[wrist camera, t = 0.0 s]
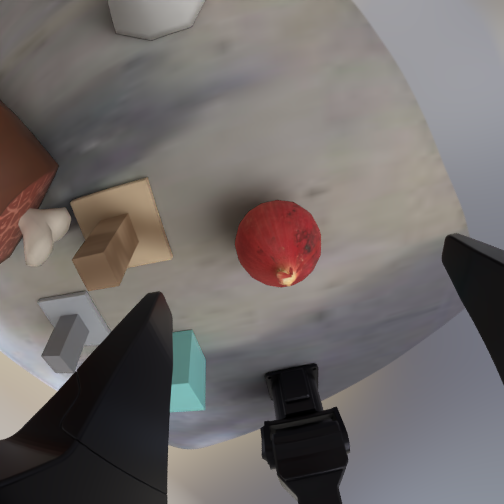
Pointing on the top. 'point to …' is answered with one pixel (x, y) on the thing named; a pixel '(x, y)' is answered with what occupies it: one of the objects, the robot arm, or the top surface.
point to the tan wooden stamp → (118, 233)
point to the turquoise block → (187, 373)
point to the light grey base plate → (71, 329)
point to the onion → (278, 243)
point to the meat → (26, 193)
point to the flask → (153, 16)
